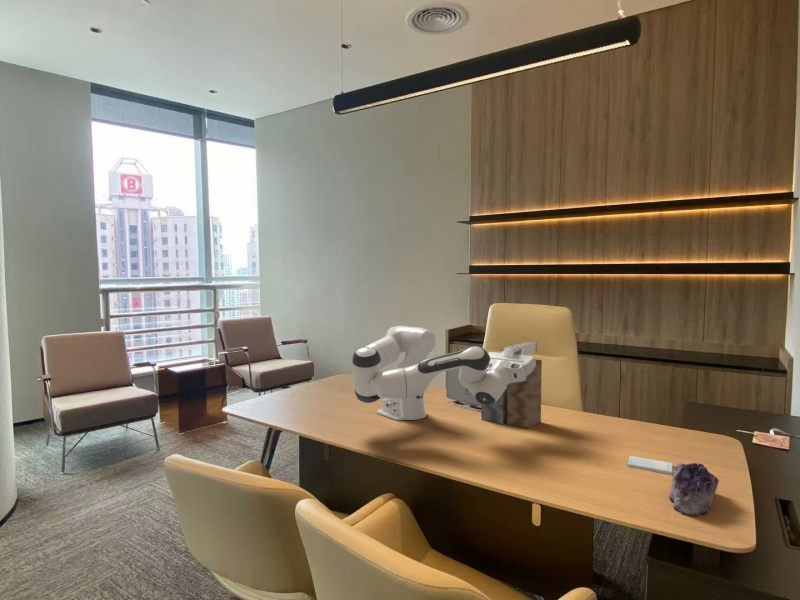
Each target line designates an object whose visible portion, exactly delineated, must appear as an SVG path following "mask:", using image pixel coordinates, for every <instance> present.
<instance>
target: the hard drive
mask: <svg viewBox="0 0 800 600" xmlns="http://www.w3.org/2000/svg"><path fill="white" fill-rule="evenodd" d="M626 467H627V468H628V467H629V468H631V469H632V468H633V469H637V470H643V471H648V472H655V473H659V474H664V475H671V476H673V474H672V470H673V469H674V468H673V462H668V461H661V460H656V459H651V458H645V457H638V456H633V455H629V457H628V460H627V464H626Z"/></svg>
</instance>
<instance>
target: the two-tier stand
mask: <svg viewBox="0 0 800 600" xmlns="http://www.w3.org/2000/svg"><path fill="white" fill-rule="evenodd" d="M535 361H536V366H535V368H534V369H533V371H532V372H531V373H530V374H529V375H528V376H526V380H525V381H522V382H513V383H509V384H508V385H507V386H506V388H505V391H504V392H503V394H502V395H501V397H500V398H499V399H498V400H497V401H496V402H495V403H494V404H492V405H483V404H481V406H480V407H481V411H480V412H481V414H480V415H481V417H480V418H481V420H483V421H486V422H491V423H496V424H499V425H500V424H501V425H504V424H507V425H511V426H516V427H521V428H525V429H531V428H533V427H535V426H537V425H539V424H540V423H541V422H542V371H543V370H542V368H543V367H542V365H543V364H542V359H535ZM538 423H539V424H538Z"/></svg>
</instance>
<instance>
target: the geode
mask: <svg viewBox="0 0 800 600" xmlns="http://www.w3.org/2000/svg"><path fill="white" fill-rule="evenodd" d="M671 480H672V484H671V489H670V494H669V496H668V497H669V500H670V501H672V502H673V509H674V511H676V512H677V513H680V514H681V515H682V516H686V517H690V518H691V517H692V518H693V517H698V516H699V517H700V516H705V515H707V514H708V513H709V511H710V509H711V506H712V504H713V501H714V497H715V495H716V493H717V492H716V491H717V488H718V486H719V485H718V484H719V482H720V480H719V479H718V477H717V476H715V474H713V473H711V472H710V471H709V470H708V468H707V467H706V466H705V465H704V464H703V463H696V462H694V463H692V462H691V463H687V464H684V463H682V462H678V463H677V465H676V466H675V467H674V468H672V479H671Z"/></svg>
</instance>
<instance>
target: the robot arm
mask: <svg viewBox="0 0 800 600" xmlns="http://www.w3.org/2000/svg"><path fill="white" fill-rule="evenodd" d="M436 341H437V339H436V334H434V332H433V331H431V330H429V329H426V328H425V327H419V326H418V327H417V326H408V325H396V326H391V327H390V328H389V329H387V331H386V334H385V335H384V337H382V338H380V339H378V340H376V341H373V342H371V343H368V344H367V345H365V346H364V347H363V346H362V347H360V348H358V349H357V350H355V352H354V353H353V355H352V360H351V361H352V379H353V385H354V394H355V396H356V398H357V400H358V401H360V402H361V403H365V404H370V403H371V404H372V403H374V402H375V403H376V402H377V401H379V400H380V399H383V401H382V406H381V408H379V409H377V410H376V414H378V415H380V416H383V417H386V418H388V419H389V418H390V419H392V420H395V421H415V420H422V419H424V418H426V417H427V416H428V415H427V412H426V408H425V400H424V395H425V394H424V393H425V392H427V390H428V388H429V386H430V384H431V383H432V382H433V381H434V379H435V378H436V377H437V376H438V375H440V374H442V373H444V372H447V371H449V370H453V369H457V368H460V371H459V377H458V380H459V383H460V385H461V386H462V387H464V388H465V389H467V390H469V391H470V392H471V393H472V394H473V395H474V397H475V399H476V400H477V401H478V402H479V403H481V404H483V405H492V404H494V403H495V402H496V401H497V400H498V399H499V398H500V397H501V395H502V394H503V392H504V391H505V388H506V386H507V385H508V384H509V383H513V382H522V381H525V380H526V376H528V375H529V374H530V373H531V372H532V371H533V369H534V368H535V366H536V361H535V356H532V355H524V353H525V351H524V349H520V351H519V353H520V355H516V354H515V355H514V357H507V356H504V350H503V351H501V352H497V351H489V352H488V351H487V350H486V349H485V348H483V347H481V346H479V345H470V346H466V347H464V348H462V349H460V350H457V351H454V352H453V351H452V352H449V353H444V354H440V355H435V356H432V357H428V358H427V356H428V355H429V354H430V353H431V352H433V350H434V348H435V347H436ZM403 353H404V358H403V360H402V361H401V362H399V363H398V365H397V367H396V368H393V369H389V370H385V371H383V368H385V367H387V366H390V365H391V364H393V363H395V362H397V361H398V360H399V357H400V355H401V354H403Z"/></svg>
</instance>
